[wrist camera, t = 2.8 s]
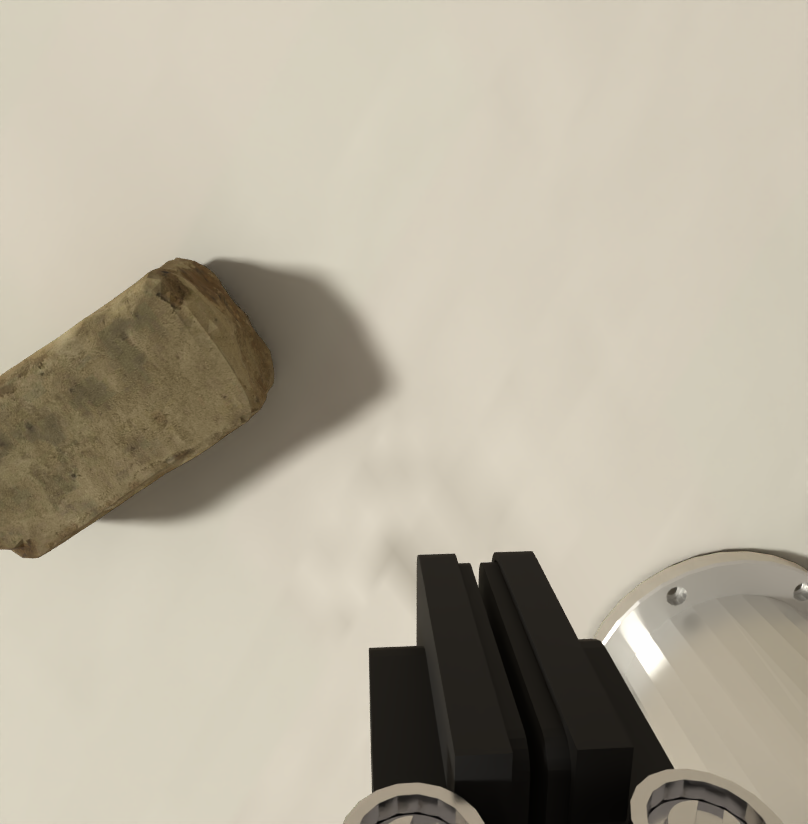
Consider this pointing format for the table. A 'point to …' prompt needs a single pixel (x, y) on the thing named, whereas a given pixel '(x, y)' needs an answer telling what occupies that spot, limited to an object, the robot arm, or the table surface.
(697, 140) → the table surface
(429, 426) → the table surface
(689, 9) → the table surface
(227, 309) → the stone block
